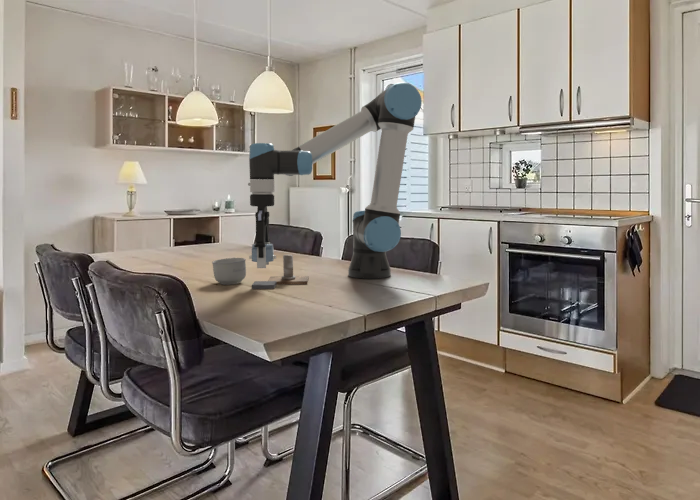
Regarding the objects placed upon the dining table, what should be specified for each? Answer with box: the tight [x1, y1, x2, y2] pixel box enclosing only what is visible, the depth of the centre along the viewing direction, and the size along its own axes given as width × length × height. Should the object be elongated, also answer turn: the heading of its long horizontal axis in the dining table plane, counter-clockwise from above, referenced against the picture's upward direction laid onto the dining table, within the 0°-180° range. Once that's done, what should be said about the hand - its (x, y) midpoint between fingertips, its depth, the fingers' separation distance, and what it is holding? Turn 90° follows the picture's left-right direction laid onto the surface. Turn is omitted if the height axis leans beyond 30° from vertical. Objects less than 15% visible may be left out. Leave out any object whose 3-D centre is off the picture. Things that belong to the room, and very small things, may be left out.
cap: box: [248, 241, 277, 263], centre depth 170 cm, size 8×7×6 cm
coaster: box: [251, 280, 278, 290], centre depth 171 cm, size 7×7×1 cm
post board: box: [267, 254, 309, 286], centre depth 179 cm, size 13×10×9 cm
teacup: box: [211, 257, 247, 286], centre depth 179 cm, size 14×11×8 cm
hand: (263, 266), depth 170 cm, fingers closed on cap, 7 cm apart
